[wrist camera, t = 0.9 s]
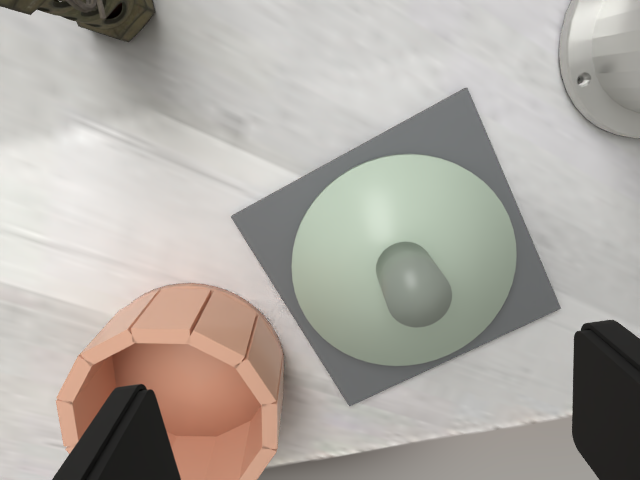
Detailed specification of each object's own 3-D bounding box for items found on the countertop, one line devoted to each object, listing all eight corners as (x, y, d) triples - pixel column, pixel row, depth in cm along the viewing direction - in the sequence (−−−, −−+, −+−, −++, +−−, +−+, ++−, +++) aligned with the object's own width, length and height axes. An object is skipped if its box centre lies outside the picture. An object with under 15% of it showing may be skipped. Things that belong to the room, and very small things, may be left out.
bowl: (223, 251, 34) (200, 290, 27) (315, 394, 37) (315, 459, 31) (69, 334, 36) (12, 389, 29) (172, 461, 39) (142, 537, 33)
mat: (464, 88, 30) (467, 87, 30) (557, 305, 35) (561, 308, 35) (232, 215, 33) (231, 217, 32) (348, 402, 38) (349, 406, 37)
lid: (459, 109, 30) (491, 113, 25) (543, 303, 35) (587, 343, 29) (250, 222, 32) (237, 249, 27) (354, 391, 37) (361, 444, 31)
